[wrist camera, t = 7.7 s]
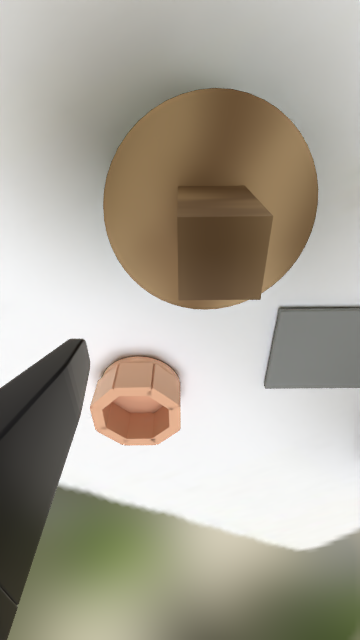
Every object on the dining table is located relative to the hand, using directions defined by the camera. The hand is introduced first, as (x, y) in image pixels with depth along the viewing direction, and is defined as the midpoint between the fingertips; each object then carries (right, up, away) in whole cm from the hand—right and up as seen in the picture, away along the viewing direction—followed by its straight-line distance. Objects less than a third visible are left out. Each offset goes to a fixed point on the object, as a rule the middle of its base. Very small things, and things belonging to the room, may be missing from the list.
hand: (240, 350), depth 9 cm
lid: (0, +6, +6) cm, 9 cm away
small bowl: (-5, -5, +19) cm, 20 cm away
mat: (+11, -2, +16) cm, 20 cm away
